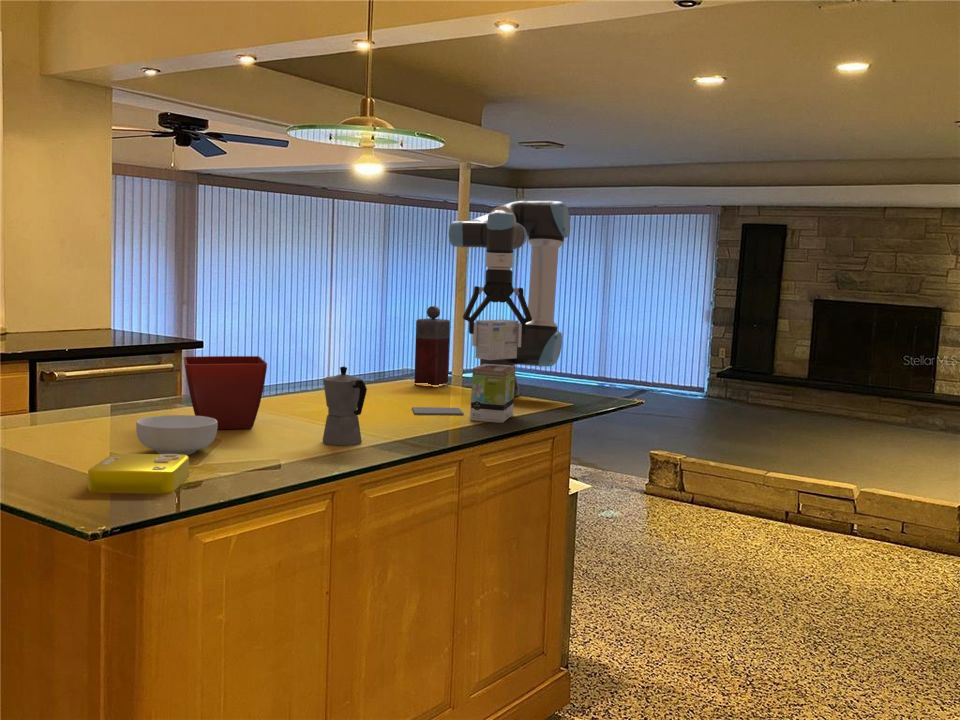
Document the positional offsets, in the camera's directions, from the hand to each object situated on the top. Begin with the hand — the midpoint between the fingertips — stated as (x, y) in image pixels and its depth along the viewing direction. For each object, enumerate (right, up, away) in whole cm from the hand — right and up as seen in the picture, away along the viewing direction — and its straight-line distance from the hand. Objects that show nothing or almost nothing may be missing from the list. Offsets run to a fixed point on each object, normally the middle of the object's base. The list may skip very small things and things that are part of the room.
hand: (496, 346), depth 247 cm
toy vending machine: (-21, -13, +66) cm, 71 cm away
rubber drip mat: (-17, -19, +8) cm, 27 cm away
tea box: (-1, -20, +2) cm, 21 cm away
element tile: (-68, -27, -83) cm, 110 cm away
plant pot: (-69, -21, -23) cm, 76 cm away
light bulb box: (0, -4, 0) cm, 4 cm away
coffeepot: (-36, -24, -40) cm, 59 cm away
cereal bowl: (-70, -24, -56) cm, 93 cm away
